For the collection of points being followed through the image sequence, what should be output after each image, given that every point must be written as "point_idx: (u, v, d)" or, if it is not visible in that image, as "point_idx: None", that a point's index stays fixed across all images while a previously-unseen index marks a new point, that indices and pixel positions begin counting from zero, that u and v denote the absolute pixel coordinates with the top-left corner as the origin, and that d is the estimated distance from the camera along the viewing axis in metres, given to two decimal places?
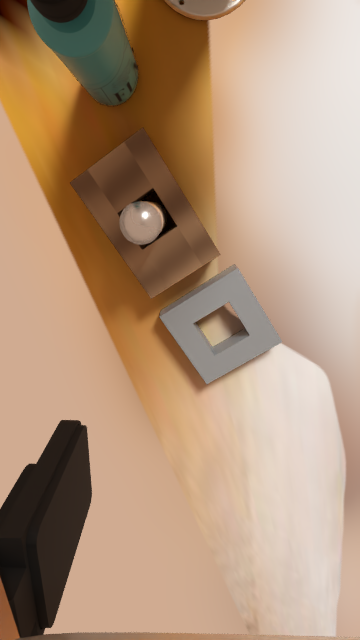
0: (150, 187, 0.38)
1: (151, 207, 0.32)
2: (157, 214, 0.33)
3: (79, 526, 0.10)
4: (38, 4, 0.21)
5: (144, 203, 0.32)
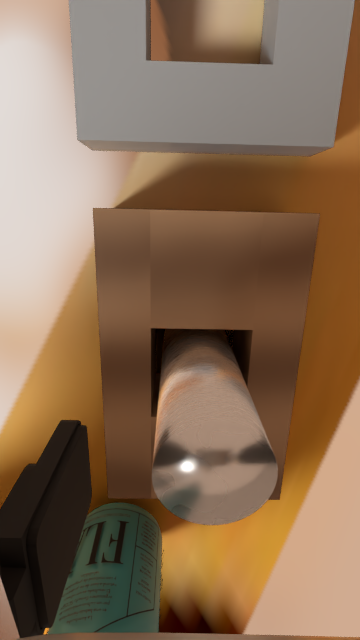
0: (155, 419, 0.18)
1: (160, 491, 0.11)
2: (156, 470, 0.11)
3: (79, 526, 0.10)
4: None
5: (170, 507, 0.11)
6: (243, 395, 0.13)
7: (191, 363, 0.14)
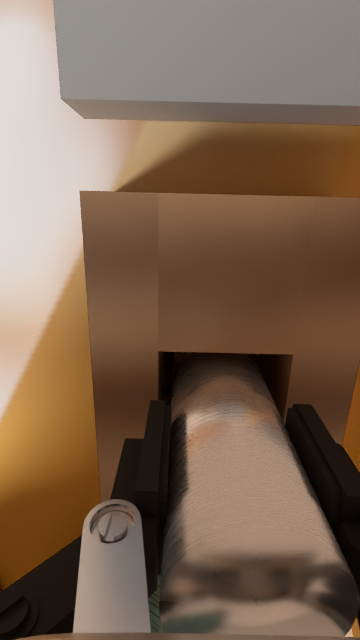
0: None
1: (172, 628, 0.07)
2: (166, 601, 0.07)
3: None
4: None
5: None
6: (294, 465, 0.09)
7: (215, 406, 0.10)
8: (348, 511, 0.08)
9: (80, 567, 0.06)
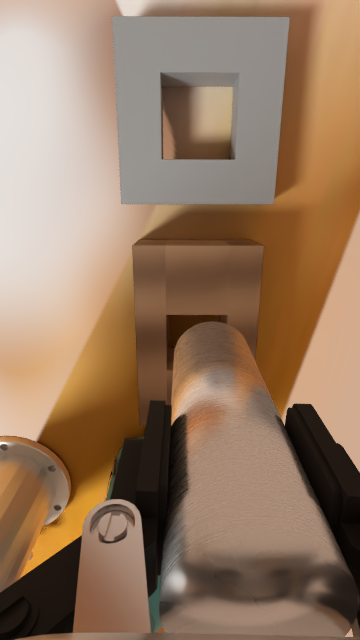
0: (169, 372, 0.29)
1: (172, 629, 0.07)
2: (166, 601, 0.07)
3: None
4: None
5: None
6: (294, 466, 0.09)
7: (214, 407, 0.10)
8: (348, 511, 0.08)
9: (80, 567, 0.06)
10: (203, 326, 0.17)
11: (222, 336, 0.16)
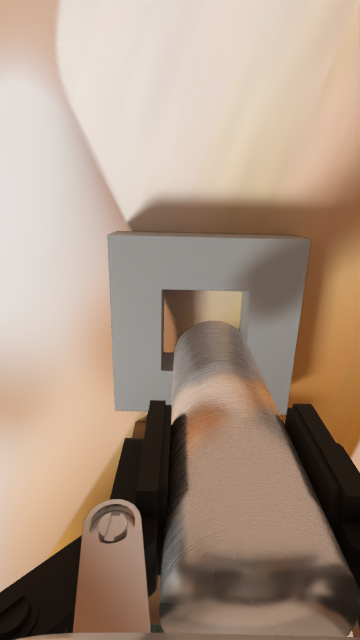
0: None
1: (172, 630, 0.07)
2: (166, 603, 0.07)
3: None
4: None
5: None
6: (295, 466, 0.09)
7: (215, 406, 0.10)
8: (348, 511, 0.08)
9: (80, 567, 0.06)
10: (203, 326, 0.17)
11: (222, 336, 0.16)
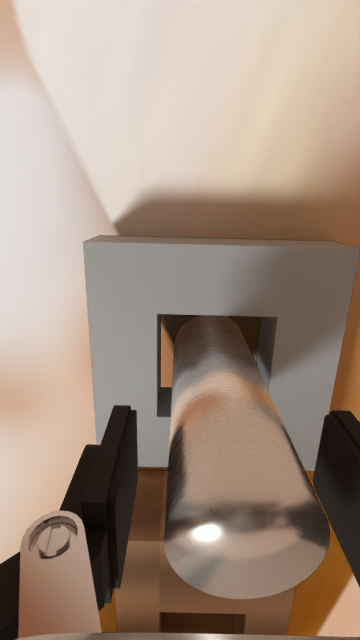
0: None
1: (174, 559, 0.09)
2: (170, 534, 0.08)
3: (132, 502, 0.11)
4: None
5: (188, 577, 0.09)
6: (279, 429, 0.10)
7: (211, 383, 0.12)
8: None
9: (21, 589, 0.06)
10: (201, 317, 0.18)
11: (219, 325, 0.17)
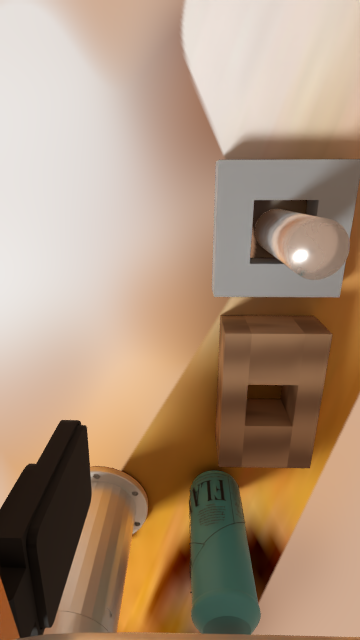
0: (246, 427, 0.36)
1: (290, 259, 0.23)
2: (290, 246, 0.22)
3: (79, 526, 0.10)
4: None
5: (295, 269, 0.23)
6: None
7: (293, 215, 0.26)
8: None
9: None
10: (272, 209, 0.32)
11: None
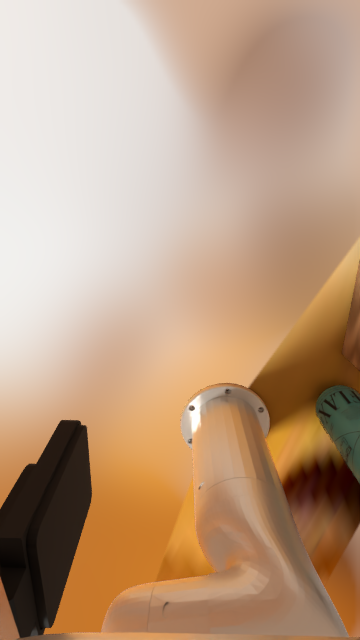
0: None
1: None
2: None
3: (79, 526, 0.10)
4: None
5: None
6: None
7: None
8: None
9: None
10: None
11: None
